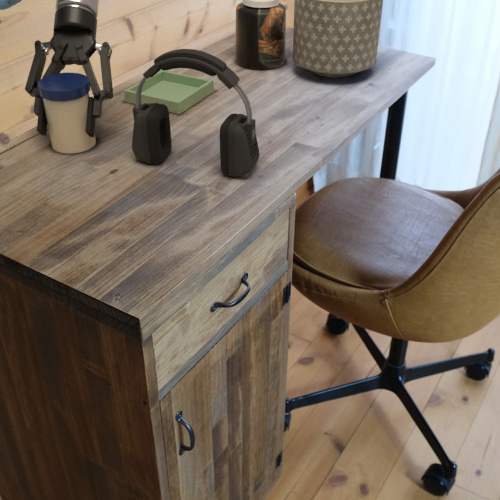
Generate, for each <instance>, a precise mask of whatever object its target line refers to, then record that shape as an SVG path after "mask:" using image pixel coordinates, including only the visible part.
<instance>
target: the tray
mask: <svg viewBox="0 0 500 500" xmlns="http://www.w3.org/2000/svg"><path fill="white" fill-rule="evenodd" d="M214 81H215V80H213V79H209V78H203V77H199V76H194V75H189V74H184V73H179V72H176V71H175V72H174V71H170V70H165V71H164V70H162V69H161V70H160V71H159V72H158V73H157V74H155V75H154V76H153V77H151V78H148V79H146V81H145V83H144V85H143V87H142V92H141V104H142V105H143V104H144V103H147V104H150V103H159V104H164V105H166V106H167V108H168V110H169V113H172V114H176V115H180V114H183V113H184V112H185V111H187V110H189V109H190V108H191V107H193V106H194V105H196V104H197V103H199V102H201V101H202V100H203V99H204V98H206V97H208V96H209V95H212V93H214V92H215V83H214ZM139 83H140V81H138V82H137V83H135V84H133V85H131V86H129V87H127V88H126V89H124V90H123V93H124V103H130V104H134V105H136V91H137V87H138V85H139ZM138 103H139V102H138Z"/></svg>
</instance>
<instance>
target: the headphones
mask: <svg viewBox="0 0 500 500" xmlns="http://www.w3.org/2000/svg"><path fill="white" fill-rule="evenodd" d="M227 65H228V64H227V63H226V62H225V61H223V60H222V59H220V58H219V57H216V56H215V55H214V54H211V53H208V52H205V51H203V50H199V49H193V48H177V49H174V50H169V51H166V52H164V53H162V54H160V55H159V56H157V57H156V58H154V60H153V65H152V66H151V67H149V68H148V69H146V71H144V72H143V74H142V76H143V77H142V78H141V80H140V81H139V82H140V83H139V82H138V83H139V85H138V87H137V91H136V104H135V106H134V107H132V115H133V128H132V139H131V150H132V154H133V155H134V156H135V158H136V159H137V160H139V161H140V162H145V163H146V164H150V165H152V164H154V165H159V164H161V163H162V162H163V161H165V159H166V158H167V157H168V156H169V154H170V153H171V151H172V131H171V119H170V118H171V117H170V112H169V110H168V108H167V106H166V105H164V104H159V103H150V104H147V103H144V104H143V105H142V104H141V92H142V87H143V85H144V83H145V81H146V79H148V78H151V77H153V76H154V75H155V74H157V73H158V72H159V71H160V70H164V71H170V70H174V69H189V70H194V71H197V72H201V73H203V74H206V75H207V76H210V77H215V76H216V78H217V79H218V80H219V81H220V82H221V83H222V84H223V85H224V86H225V87H226V88H227V89H228V90H230V89H232V88H233V89H234V90H235V91H236V92H237V93H238V95H239V97H240V99H241V100H242V102H243V104H244V107H245V113H246V114H243V113H231V114H229V115H228V116H227V117H226V118H225V119H224V121H223V122H222V123H221V124H220V127H219V154H220V155H219V160H220V170H221V172H222V174H223V175H225V176H229V177H234V178H235V177H244V176H247V175H248V174H250V173H251V171H252V170H253V169H254V168H255V166H256V164H257V163H258V162H259V158H260V147H259V144H258V137H257V133H256V119H253V111H252V106H251V102H250V100H249V97H248V95H247V93H246V92H245V90H244V88H243V87H242V86H241V85H240V84H239V82H240V77H239V76H238V75H237V74H236V72H235V71H234V70H232V69H231V68H230V67H229V66H227ZM138 102H139V103H138Z"/></svg>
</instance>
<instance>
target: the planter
mask: <svg viewBox="0 0 500 500" xmlns="http://www.w3.org/2000/svg"><path fill="white" fill-rule="evenodd" d="M383 2H384V0H294V5H293V6H294V9H293V36H292V37H293V38H292V61H293V62H294V63H295V64H296V65H297V66H298V67H301V68H302V69H305V70H308V71H309V72H311V73H313V74H315V75H317V76H320V77H325V78H332V79H339V78H345V77H349V76H353V75H355V74H357V73H360V72H363V71H367V70H369V69H371V68H372V67H374V66H375V65H376V63H377V57H378V47H379V41H380V32H381V31H380V30H381V21H382V13H383V4H384V3H383Z"/></svg>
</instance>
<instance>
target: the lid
mask: <svg viewBox="0 0 500 500" xmlns="http://www.w3.org/2000/svg"><path fill="white" fill-rule="evenodd" d="M38 90H39V95H40V96H41V97H42V98H44V99H47V100H52V101H67V100H73V99H77V98H80V97H83V96H85V95H86V94H88V93H89V94H90V91H91V87H90V84H89V79H88V77H87V76H86V74H83V73H79V72H60V73H58V74H53V75H49V76H46V77H44V78H42V77H41V80H40V81H39V82H38Z"/></svg>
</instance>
